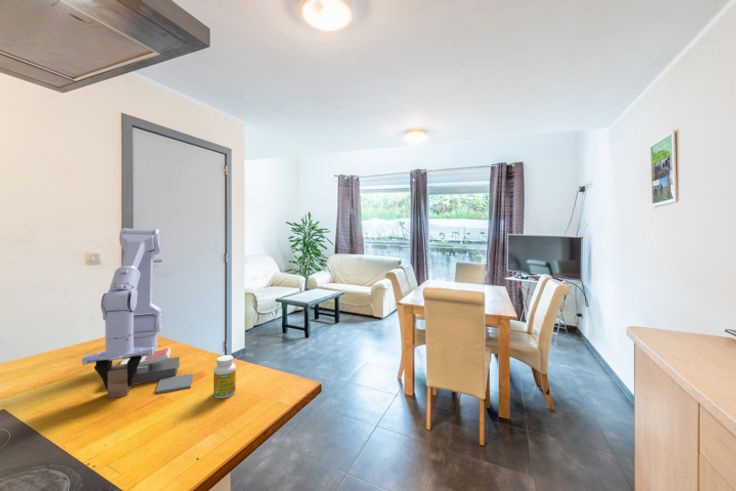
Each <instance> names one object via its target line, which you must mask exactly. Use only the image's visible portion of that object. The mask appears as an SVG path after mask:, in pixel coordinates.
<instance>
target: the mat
mask: <svg viewBox="0 0 736 491" xmlns="http://www.w3.org/2000/svg"><path fill="white" fill-rule="evenodd" d="M193 377H194V373H187V374H181V375H176V376H173V377H167V378H161V380H159V383H158V385H157V388H156V390H155V394H162V393H167V392H172V391H173V392H174V391H179V390H184V389H191V386H192V382H193Z"/></svg>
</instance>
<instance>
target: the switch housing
mask: <svg viewBox="0 0 736 491" xmlns="http://www.w3.org/2000/svg"><path fill="white" fill-rule="evenodd" d="M179 368H180V356H176V357H168V359H164V360H161V361H157V362H154V363H150V364H147V365H143V366H139V367H137V370H136V372H135V376H134V380H133V384H132V385H136V384H137V385H138V384H142V383H148V382H154V381H156V382H157V381H160V380H161V378H167V377H173V376H177V375H178V371H179Z"/></svg>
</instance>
